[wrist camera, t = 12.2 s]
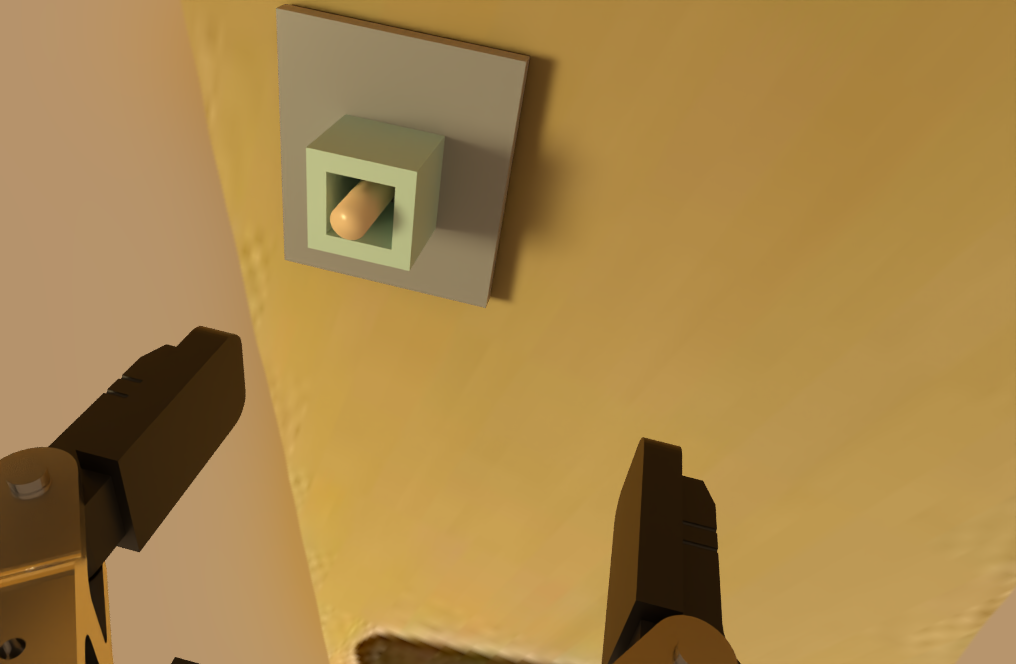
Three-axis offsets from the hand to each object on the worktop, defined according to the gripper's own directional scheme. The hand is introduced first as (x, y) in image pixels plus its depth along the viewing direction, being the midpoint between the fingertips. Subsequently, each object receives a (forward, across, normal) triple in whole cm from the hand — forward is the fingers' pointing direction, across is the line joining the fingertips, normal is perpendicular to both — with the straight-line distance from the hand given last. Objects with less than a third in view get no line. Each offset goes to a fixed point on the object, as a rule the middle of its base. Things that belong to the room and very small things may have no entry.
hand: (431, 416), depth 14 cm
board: (+30, +10, +9) cm, 33 cm away
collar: (+29, +10, +9) cm, 32 cm away
